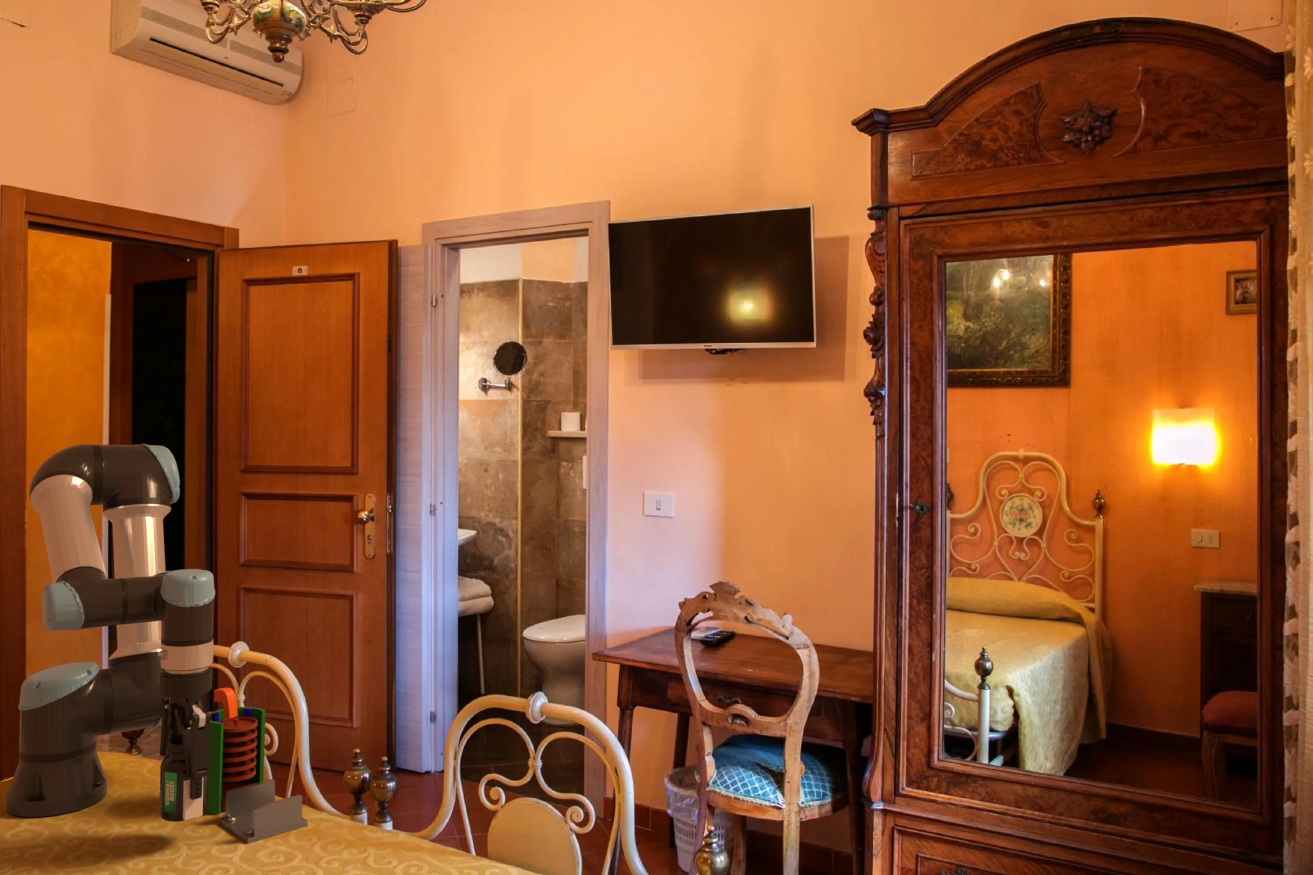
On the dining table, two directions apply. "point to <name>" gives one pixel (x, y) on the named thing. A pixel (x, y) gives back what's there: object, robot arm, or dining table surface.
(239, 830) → the cradle
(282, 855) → the dining table surface
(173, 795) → the supplement bottle
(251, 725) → the motor
